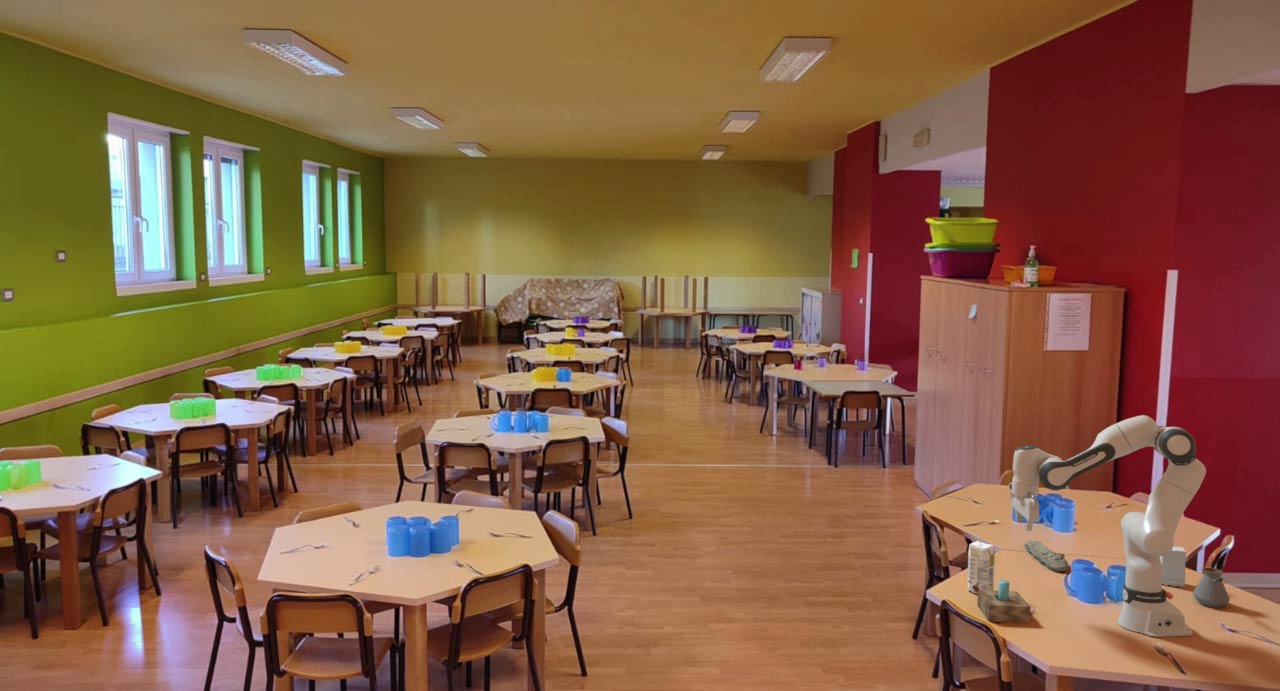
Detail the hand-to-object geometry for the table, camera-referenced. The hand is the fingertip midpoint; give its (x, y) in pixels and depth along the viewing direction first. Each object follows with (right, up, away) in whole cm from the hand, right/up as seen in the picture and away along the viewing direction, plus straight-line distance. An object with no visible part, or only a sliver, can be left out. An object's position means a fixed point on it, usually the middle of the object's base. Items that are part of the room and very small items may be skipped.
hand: (1024, 526), depth 316 cm
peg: (-10, -31, -4) cm, 33 cm away
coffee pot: (+70, -31, +1) cm, 77 cm away
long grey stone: (+34, -26, +55) cm, 69 cm away
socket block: (-10, -31, -4) cm, 33 cm away
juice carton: (-9, -29, +17) cm, 35 cm away
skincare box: (+70, -29, +25) cm, 80 cm away
